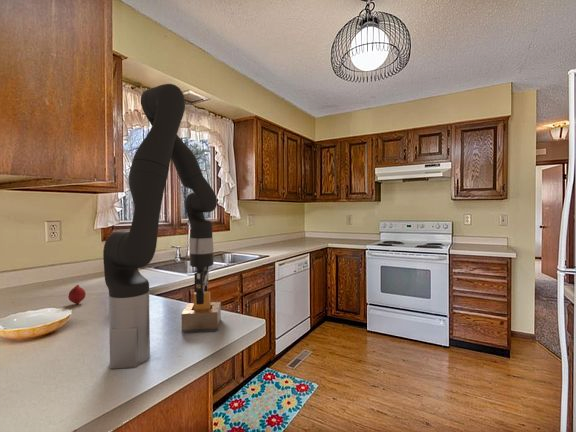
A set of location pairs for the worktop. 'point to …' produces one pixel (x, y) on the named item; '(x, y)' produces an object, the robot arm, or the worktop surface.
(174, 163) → the robot arm
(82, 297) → the onion
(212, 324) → the base
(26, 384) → the worktop surface
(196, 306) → the orange stepped block
